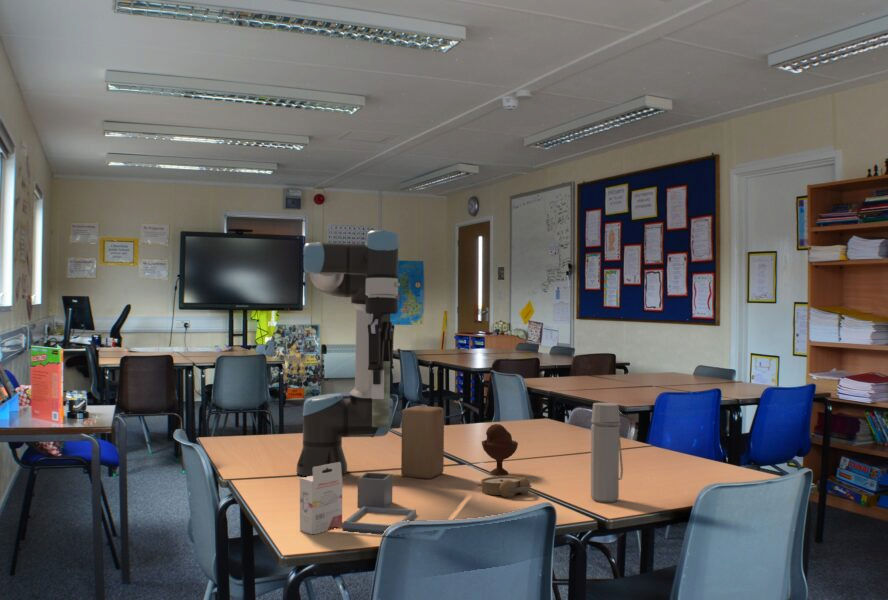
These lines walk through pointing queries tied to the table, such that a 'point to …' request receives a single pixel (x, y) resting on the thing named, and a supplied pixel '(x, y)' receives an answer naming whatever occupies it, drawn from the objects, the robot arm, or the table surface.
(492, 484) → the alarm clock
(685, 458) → the table surface
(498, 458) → the ice cream bowl
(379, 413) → the dowel
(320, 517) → the ink cartridge box
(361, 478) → the pot
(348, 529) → the tray
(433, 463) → the wooden block
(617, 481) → the water bottle
